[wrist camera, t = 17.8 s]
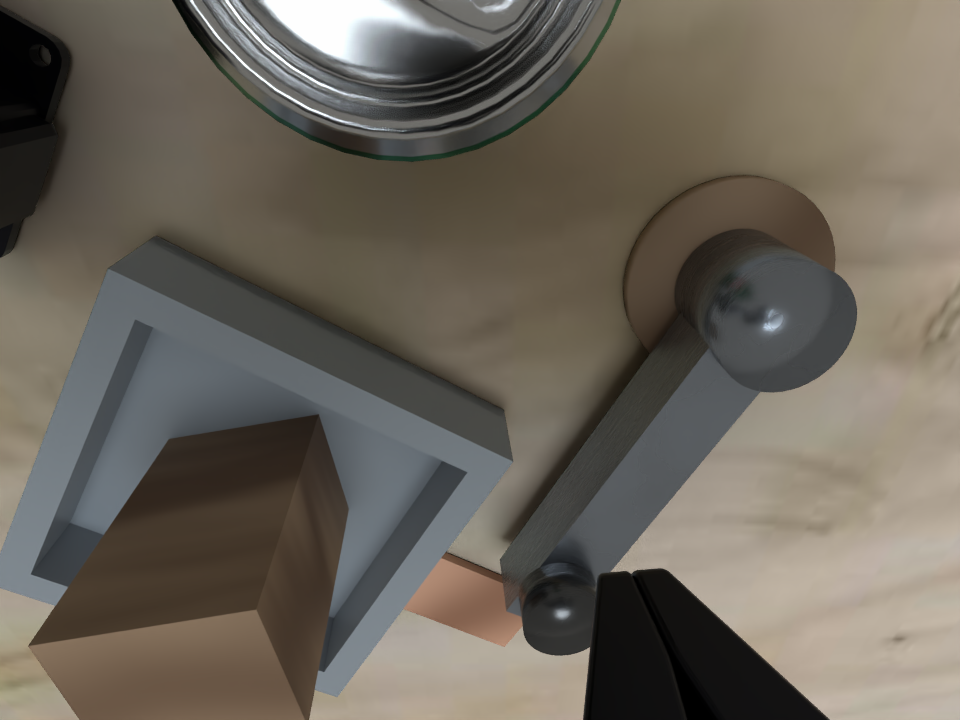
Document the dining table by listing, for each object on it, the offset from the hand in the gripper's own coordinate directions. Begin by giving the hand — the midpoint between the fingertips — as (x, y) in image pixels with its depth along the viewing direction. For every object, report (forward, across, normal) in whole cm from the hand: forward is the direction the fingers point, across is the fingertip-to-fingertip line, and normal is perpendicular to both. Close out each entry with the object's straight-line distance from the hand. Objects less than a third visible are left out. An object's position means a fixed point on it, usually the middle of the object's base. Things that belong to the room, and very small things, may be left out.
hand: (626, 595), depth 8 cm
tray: (+13, +9, +7) cm, 17 cm away
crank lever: (+12, -4, +5) cm, 14 cm away
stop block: (+12, +9, +7) cm, 17 cm away
